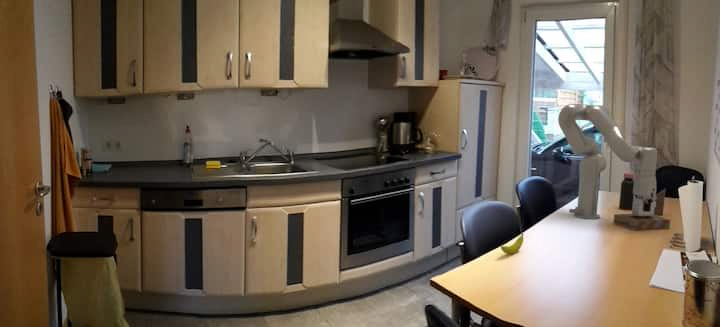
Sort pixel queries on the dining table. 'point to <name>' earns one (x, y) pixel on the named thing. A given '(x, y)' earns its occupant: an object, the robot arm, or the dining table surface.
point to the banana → (513, 246)
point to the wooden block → (659, 203)
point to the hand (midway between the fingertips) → (643, 209)
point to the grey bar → (642, 207)
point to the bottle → (627, 192)
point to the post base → (641, 222)
